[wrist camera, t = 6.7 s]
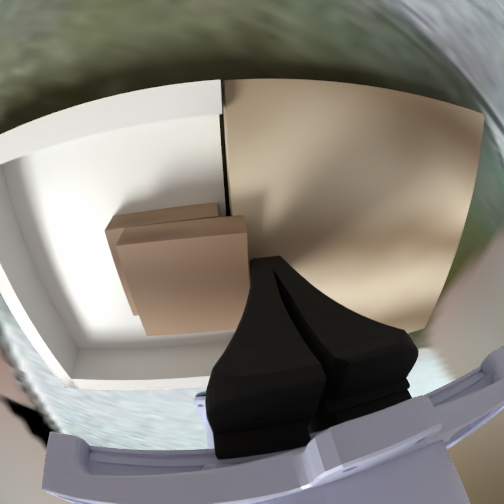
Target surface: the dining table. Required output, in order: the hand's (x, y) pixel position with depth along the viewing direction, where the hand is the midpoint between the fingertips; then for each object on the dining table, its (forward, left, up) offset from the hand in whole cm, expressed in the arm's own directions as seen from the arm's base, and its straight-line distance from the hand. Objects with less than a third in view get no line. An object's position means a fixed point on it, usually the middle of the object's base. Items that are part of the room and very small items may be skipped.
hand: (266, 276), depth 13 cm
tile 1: (0, +3, -1) cm, 3 cm away
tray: (0, +8, -3) cm, 8 cm away
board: (0, -6, -3) cm, 6 cm away
